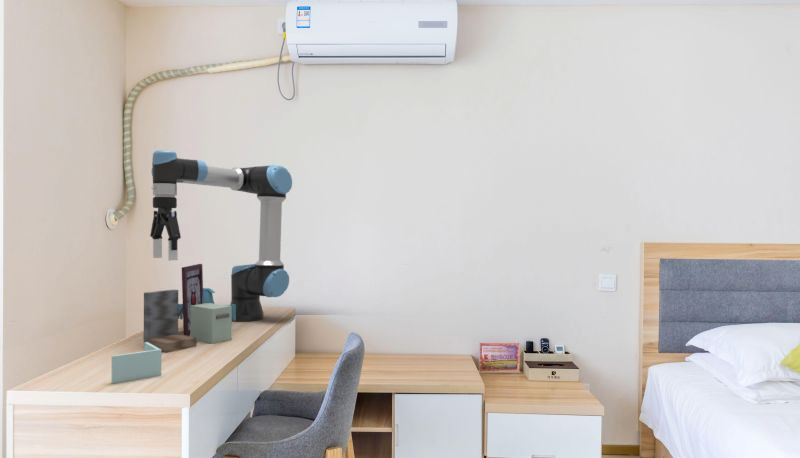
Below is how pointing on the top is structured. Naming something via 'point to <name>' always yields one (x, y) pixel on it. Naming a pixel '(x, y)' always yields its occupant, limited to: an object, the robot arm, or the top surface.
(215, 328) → the cabinet box
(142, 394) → the top surface
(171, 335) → the grey bookend
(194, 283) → the picture frame
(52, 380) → the top surface
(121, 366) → the l-shaped corner panel
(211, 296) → the blue toy animal
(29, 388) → the top surface
